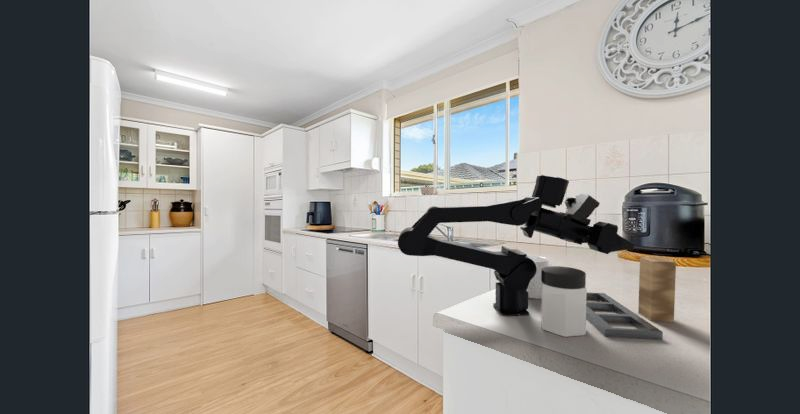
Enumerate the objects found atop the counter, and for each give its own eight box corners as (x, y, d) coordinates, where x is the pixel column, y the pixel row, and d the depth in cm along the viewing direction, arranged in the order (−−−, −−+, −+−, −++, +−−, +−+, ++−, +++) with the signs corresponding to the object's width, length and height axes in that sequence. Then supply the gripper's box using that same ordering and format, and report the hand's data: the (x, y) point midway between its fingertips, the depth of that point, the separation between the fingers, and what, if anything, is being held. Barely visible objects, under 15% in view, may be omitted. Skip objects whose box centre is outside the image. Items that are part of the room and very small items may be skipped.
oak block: (650, 320, 69) (652, 261, 68) (638, 312, 73) (640, 257, 72) (673, 322, 68) (676, 262, 67) (660, 313, 72) (662, 257, 72)
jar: (593, 329, 65) (594, 271, 64) (576, 342, 59) (578, 278, 59) (549, 316, 72) (550, 263, 71) (531, 326, 66) (532, 269, 66)
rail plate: (605, 336, 62) (605, 328, 61) (563, 297, 84) (563, 291, 84) (662, 339, 60) (662, 331, 60) (603, 298, 83) (604, 293, 83)
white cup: (545, 301, 81) (546, 262, 81) (513, 296, 85) (514, 259, 85) (549, 293, 88) (550, 257, 87) (519, 288, 92) (520, 254, 91)
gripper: (587, 190, 64) (663, 212, 64) (548, 190, 83) (606, 207, 82) (569, 243, 65) (644, 265, 64) (535, 231, 83) (592, 248, 83)
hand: (619, 243), depth 73 cm, fingers open, 9 cm apart
